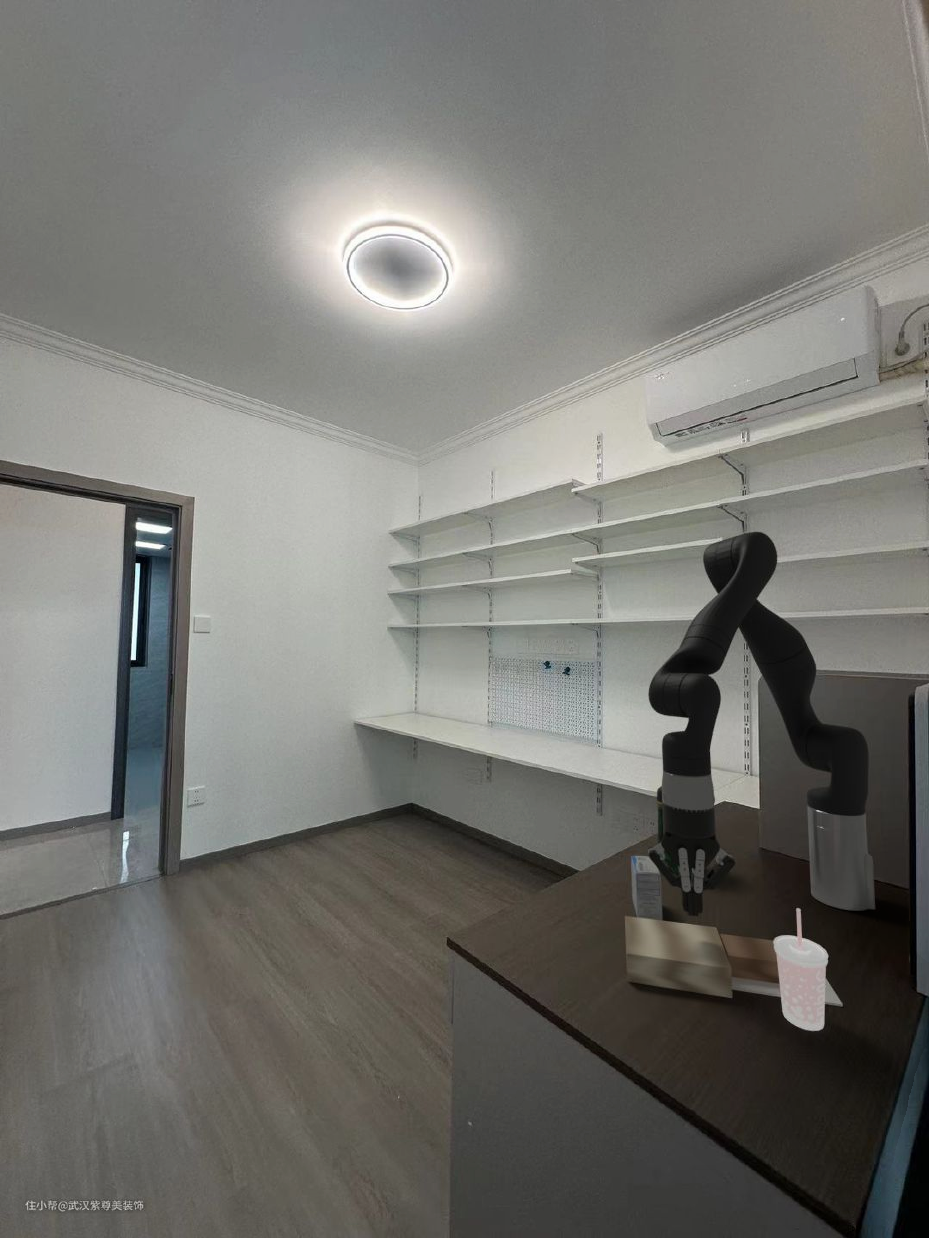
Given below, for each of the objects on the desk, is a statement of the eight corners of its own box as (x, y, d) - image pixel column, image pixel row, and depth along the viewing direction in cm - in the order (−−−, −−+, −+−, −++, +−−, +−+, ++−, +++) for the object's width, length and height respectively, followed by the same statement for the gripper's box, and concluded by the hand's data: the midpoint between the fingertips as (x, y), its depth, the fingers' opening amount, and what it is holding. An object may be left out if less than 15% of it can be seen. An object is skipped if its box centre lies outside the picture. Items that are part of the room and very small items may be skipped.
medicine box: (663, 923, 92) (661, 873, 92) (636, 921, 93) (635, 871, 93) (655, 902, 100) (654, 856, 100) (631, 900, 101) (630, 854, 101)
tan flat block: (717, 953, 83) (716, 927, 83) (732, 998, 72) (731, 968, 73) (625, 940, 87) (624, 915, 87) (627, 981, 76) (626, 953, 76)
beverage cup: (804, 1039, 65) (799, 923, 66) (765, 1006, 71) (761, 900, 72) (843, 1030, 66) (838, 917, 67) (802, 998, 72) (797, 895, 73)
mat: (817, 967, 79) (817, 965, 79) (842, 1006, 71) (842, 1004, 71) (717, 953, 83) (717, 951, 83) (729, 988, 74) (729, 986, 74)
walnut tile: (784, 961, 80) (783, 941, 80) (798, 986, 74) (797, 964, 74) (720, 953, 83) (719, 933, 83) (729, 976, 77) (728, 955, 77)
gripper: (728, 796, 83) (733, 907, 82) (641, 791, 87) (645, 897, 86) (740, 810, 76) (745, 932, 75) (644, 805, 80) (649, 921, 79)
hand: (692, 913), depth 81 cm, fingers closed
